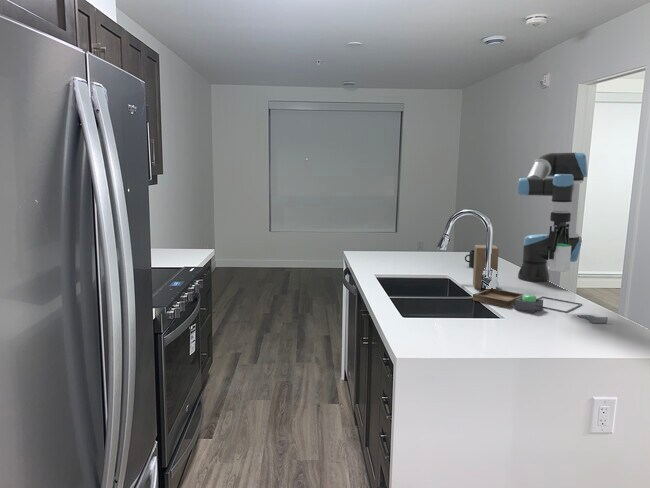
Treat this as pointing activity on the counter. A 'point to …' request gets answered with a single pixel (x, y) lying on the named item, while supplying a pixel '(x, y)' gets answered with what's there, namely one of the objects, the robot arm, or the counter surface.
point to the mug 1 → (470, 258)
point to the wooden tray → (497, 297)
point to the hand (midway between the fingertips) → (556, 265)
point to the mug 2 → (562, 258)
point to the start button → (529, 298)
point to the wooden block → (483, 263)
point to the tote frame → (563, 301)
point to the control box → (529, 305)
